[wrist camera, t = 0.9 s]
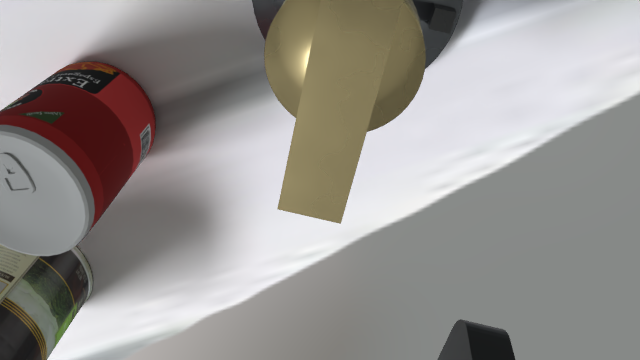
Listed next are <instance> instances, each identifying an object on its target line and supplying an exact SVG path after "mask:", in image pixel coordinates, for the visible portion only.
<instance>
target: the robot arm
mask: <svg viewBox="0 0 640 360" xmlns="http://www.w3.org/2000/svg"><path fill="white" fill-rule="evenodd" d="M438 360H515V357H514V353H513V349H512V345H511V342H510V338H509V335H508V333H507V332H506V331H505V330H503V329H499V328H494V327H491V326H486V325H482V324H478V323H473V322H469V321H465V320H458V321H457V322H456V323H455V325H454V327H453V328H452V330H451V332H450V334H449V337H448V339H447V341H446V343H445V345H444V347H443V349H442V351H441V353H440V355H439V358H438Z"/></svg>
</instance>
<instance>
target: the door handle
mask: <svg viewBox="0 0 640 360" xmlns="http://www.w3.org/2000/svg"><path fill="white" fill-rule="evenodd" d="M264 60H265V69H266V74H267V77H268V80H269V83H270V86H271V88H272V90H273V92H274V94H275V95H276V97H277V98H278V100H279V101H280V103H281V104H282V105H283V106H284V108H285V109H286V110H287V111H288V112H290V113H291V114H292V115H293V116H294V117H295V118H296V122H295V127H294V132H293V136H292V141H291V146H290V151H289V156H288V161H287V166H286V170H285V175H284V180H283V185H282V190H281V195H280V200H279V204H278V209H279V210H283V211H288V212H292V213H296V214H301V215H305V216H309V217H314V218H318V219H323V220H327V221H331V222H336V223H340V224H341V221H342V217H343V214H344V210H345V207H346V203H347V200H348V196H349V192H350V189H351V185H352V182H353V178H354V175H355V171H356V168H357V164H358V161H359V157H360V154H361V150H362V146H363V143H364V139H365V136H366V132H368V131H371V130H374V129H377V128H379V127H381V126H383V125H385V124H387V123H388V122H390V121H392V120H393V119H394V118H396V117H397V116H398V115H400V114H401V113H402V112H403V111H404V110H405V109H406V108H407V106H408V105H409V104H410V102H411V101H412V100H413V98H414V97H415V95H416V93H417V91H418V89H419V87H420V84H421V82H422V79H423V75H424V71H425V62H426V55H425V45H424V39H423V34H422V29H421V24H420V19H419V16H418V13H417V9H416V7H415V5H414V3H413V1H412V0H285V1H284V3H283V4H282V6H281V8H280V9H279V11H278V13H277V14H276V16H275V18H274V20H273V21H272V23H271V26H270V28H269V31H268V33H267V38H266V42H265V51H264Z"/></svg>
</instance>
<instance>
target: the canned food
mask: <svg viewBox="0 0 640 360" xmlns="http://www.w3.org/2000/svg"><path fill="white" fill-rule="evenodd" d="M155 129H156V124H155V115H154V110H153V107H152V105H151V102H150V100H149V98H148V96H147V95H146V93H145V92H144V90H143V89H142V88H141V86H140V85H139V84H138V83H137V82H136V81H135V80H134V79H133V78H131V77H130V76H129V75H128V74H127V73H125V72H123V71H121V70H120V69H118V68H116V67H114V66H111V65H108V64H105V63H100V62H79V63H75V64H71V65H68V66H66V67H64V68H62V69H60V70H59V71H57V72H56V73H54V74H53V75H51V76H50V77H49V78H47V79H46V80H44V81H43V82H41V83H40V84H38V85H37V86H36V87H34V88H33V89H31V90H30V91H28V92H27V93H25V94H24V95H23V96H21V97H20V98H18V99H17V100H15V101H14V102H12V103H11V104H10V105H8V106H7V107H5V108H4V109H2V110H1V111H0V244H1V245H3V246H5V247H7V248H9V249H11V250H14V251H17V252H20V253H23V254H29V255H34V256H51V255H58V254H61V253H64V252H66V251H69V250H70V249H72V248H73V247H75V246H76V245H77V244H78V243H79V242H80V241H81V240H82V239H83V238H84V237H85V236H86V235H87V233H88V232H89V231H90V230H91V228H92V227H93V226H94V225H95V223H96V222H97V221H98V220H99V218H100V217H101V216H102V214H103V213H104V212H105V210H106V209H107V208H108V206H109V205H110V204H111V202H112V201H113V200H114V198H115V197H116V196H117V194H118V193H119V191H120V190H121V189H122V187H123V186H124V185H125V183H126V182H127V181H128V179H129V178H130V177H131V175H132V174H133V173H134V171H135V170H136V169H137V167H138V166H139V165H140V163H141V162H142V161H143V159H144V158H145V156H146V155H147V154H148V152H149V151H150V149H151V146H152V144H153V141H154V136H155Z"/></svg>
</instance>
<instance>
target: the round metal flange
mask: <svg viewBox="0 0 640 360" xmlns="http://www.w3.org/2000/svg"><path fill="white" fill-rule="evenodd" d="M284 1H285V0H252V2H253V7H254V13H255V16H256V19H257V23H258V26H259V28H260V30H261V33H262V35H263V37H264V39H265V41H266V38H267V33H268V31H269V28H270V26H271V23H272V21H273V20H274V18H275V16H276V14H277V13H278V11H279V9H280V8H281V6H282V4H283V3H284ZM412 1H413V3H414V5H415V7H416V9H417V13H418V16H419V19H420V24H421V29H422V34H423V39H424V45H425V55H426V62H425V69H426V68H427V67H428V66H429V65H430V64H431V63H432V62H433V61H434V60H435V59H436V58H437V57H438V55H439V54H440V53H441V51H442V50H443V49H444V47H445V46H446V44H447V43H448V41H449V39H450V37H451V35H452V34H453V31H454V29H455V27H456V24H457V22H458V19H459V15H460V11H461V8H462V1H463V0H412Z"/></svg>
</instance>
